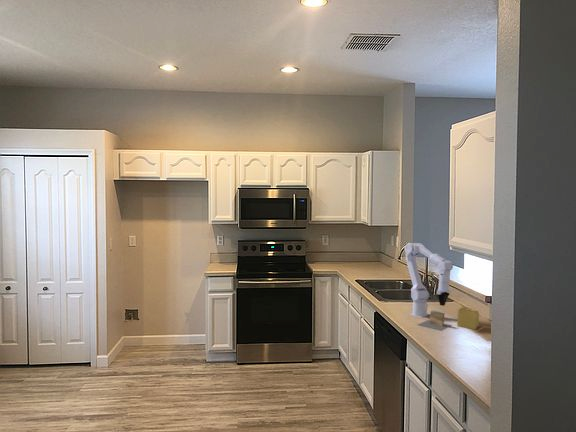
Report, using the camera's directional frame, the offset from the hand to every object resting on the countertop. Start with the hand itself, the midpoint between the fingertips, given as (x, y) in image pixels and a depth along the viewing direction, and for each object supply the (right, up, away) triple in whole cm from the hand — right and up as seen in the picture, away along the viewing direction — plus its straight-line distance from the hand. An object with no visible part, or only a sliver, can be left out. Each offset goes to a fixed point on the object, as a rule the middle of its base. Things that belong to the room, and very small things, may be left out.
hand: (442, 305), depth 273 cm
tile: (-4, -10, -4) cm, 12 cm away
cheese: (+13, -12, -4) cm, 18 cm away
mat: (-6, -10, -6) cm, 14 cm away
